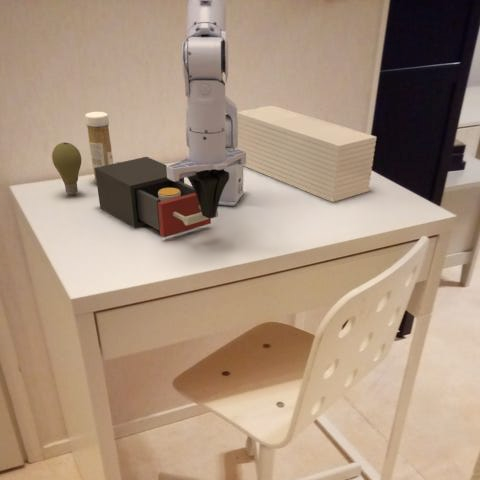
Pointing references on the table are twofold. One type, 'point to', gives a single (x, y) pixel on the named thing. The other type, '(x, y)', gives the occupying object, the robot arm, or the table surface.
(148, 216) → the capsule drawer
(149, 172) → the black drawer box
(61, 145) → the light bulb
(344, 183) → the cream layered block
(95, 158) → the spice jar
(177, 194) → the beige cylinder
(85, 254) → the table surface
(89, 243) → the table surface
